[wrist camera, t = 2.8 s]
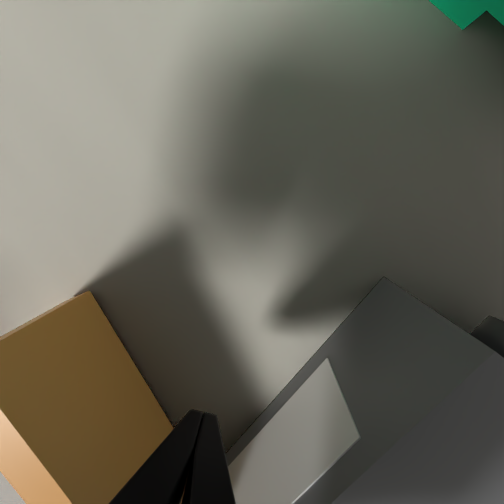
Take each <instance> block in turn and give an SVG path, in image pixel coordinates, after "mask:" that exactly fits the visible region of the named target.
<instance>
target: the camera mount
mask: <svg viewBox="0 0 504 504" xmlns="http://www.w3.org/2000/svg"><path fill="white" fill-rule="evenodd" d="M429 1H430V2H431V3H432V4H434V5H435V6H436V7H437V8H438V9H439V10H440V11H442V12H443V13H444V14H445V15H446V16H447V17H449V18H450V19H451V20H452V21H453V22H454V23H455V24H457V25H458V26H459V27H460V28H461V29H462V30H463V29H464V28H466V27H467V26H468V25H469V24H470V23H472V22H473V21H474V20H475V19H477V18H478V17H479V16H480V15H482V14H483V13H484V12H485V11H486V10H487V11H488V12H489V13H490V14H491V15H492V16H493V17H494V18H496V19H497V20H498V21H499V22H500V23H501V24H502V25H503V26H504V0H429Z"/></svg>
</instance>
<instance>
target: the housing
mask: <svg viewBox="0 0 504 504" xmlns="http://www.w3.org/2000/svg"><path fill="white" fill-rule="evenodd" d="M225 455H226V460H227V465H228V469H229V474H230V479H231V483H232V488H233V493H234V497H235V502H236V504H504V321H502V320H500V319H497V318H495V317H492V316H488V317H487V318H486V319H485V320H484V321H483V322H482V323H481V324H480V325H479V326H478V327H477V328H476V329H475V330H474V331H473V332H472V333H471V334H469V333H467V332H466V331H464V330H463V329H461V328H460V327H458V326H457V325H455V324H454V323H452V322H451V321H449V320H448V319H446V318H445V317H443V316H442V315H440V314H439V313H437V312H436V311H434V310H433V309H431V308H430V307H428V306H427V305H425V304H424V303H422V302H421V301H419V300H418V299H416V298H415V297H413V296H412V295H411V294H409V293H408V292H406V291H405V290H403V289H402V288H400V287H399V286H397V285H396V284H394V283H393V282H391V281H390V280H388V279H387V278H385V277H383V278H382V279H381V280H380V281H379V283H378V284H377V285H376V286H375V287H374V288H373V289H372V290H371V291H370V293H369V294H368V295H367V296H366V297H365V298H364V299H363V300H362V302H361V303H360V304H359V305H358V306H357V307H356V308H355V309H354V311H353V312H352V313H351V314H350V315H349V316H348V317H347V318H346V320H345V321H344V322H343V323H342V324H341V325H340V326H339V327H338V329H337V330H336V331H335V332H334V333H333V334H332V335H331V336H330V337H329V339H328V340H327V341H326V342H325V343H324V344H323V345H322V346H321V348H320V349H319V350H318V351H317V352H316V353H315V354H314V355H313V357H312V358H311V359H310V360H309V361H308V362H307V363H306V364H305V366H304V367H303V368H302V369H301V370H300V371H299V372H298V373H297V375H296V376H295V377H294V378H293V379H292V380H291V381H290V382H289V383H288V385H287V386H286V387H285V388H284V389H283V390H282V391H281V392H280V394H279V395H278V396H277V397H276V398H275V399H274V400H273V401H272V403H271V404H270V405H269V406H268V407H267V408H266V409H265V410H264V412H263V413H262V414H261V415H260V416H259V417H258V418H257V419H256V421H255V422H254V423H253V424H252V425H251V426H250V427H249V428H248V429H247V431H246V432H245V433H244V434H243V435H242V436H241V437H240V438H239V440H238V441H237V442H236V443H235V444H234V445H233V446H232V447H231V449H230V450H229V451H228V452H227V453H226V454H225Z"/></svg>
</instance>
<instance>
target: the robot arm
mask: <svg viewBox="0 0 504 504" xmlns="http://www.w3.org/2000/svg"><path fill="white" fill-rule="evenodd" d="M202 417H203V418H202ZM184 489H185V490H184ZM183 493H184V494H183ZM182 496H183V498H182ZM181 500H182V503H181ZM180 503H181V504H236V502H235V497H234V493H233V488H232V483H231V479H230V474H229V469H228V465H227V460H226V455H225V451H224V446H223V441H222V437H221V432H220V427H219V423H218V418H217V416H216V415H215V414H211V413H207V412H205V413H204V414H203V412H202V411H198V410H194V409H191V410H190V411H189V412H188V413H187V414H186V415H185V416H184V417H183V419H182V420H181V421H180V422H179V423H178V424H177V426H176V427H175V428H174V429H173V430H172V431H171V432H170V434H169V435H168V436H167V437H166V438H165V439H164V440H163V442H162V443H161V444H160V445H159V446H158V447H157V448H156V450H155V451H154V452H153V453H152V454H151V455H150V457H149V458H148V459H147V460H146V461H145V462H144V463H143V465H142V466H141V467H140V468H139V469H138V470H137V471H136V473H135V474H134V475H133V476H132V477H131V478H130V479H129V481H128V482H127V483H126V484H125V485H124V486H123V487H122V489H121V490H120V491H119V492H118V493H117V494H116V496H115V497H114V498H113V499H112V500H111V501H110V502H109V504H180Z"/></svg>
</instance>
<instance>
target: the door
mask: <svg viewBox="0 0 504 504" xmlns="http://www.w3.org/2000/svg"><path fill="white" fill-rule="evenodd" d="M173 429H174V428H173V426H172V425H171V423H170V421H169V420H168V418H167V417H166V415H165V413H164V412H163V410H162V408H161V407H160V405H159V403H158V402H157V400H156V398H155V397H154V395H153V394H152V392H151V390H150V389H149V387H148V385H147V384H146V382H145V380H144V379H143V377H142V375H141V374H140V372H139V371H138V369H137V367H136V366H135V364H134V362H133V361H132V359H131V357H130V356H129V354H128V353H127V351H126V349H125V348H124V346H123V344H122V343H121V341H120V339H119V338H118V336H117V334H116V333H115V331H114V330H113V328H112V326H111V325H110V323H109V321H108V320H107V318H106V316H105V315H104V313H103V312H102V310H101V308H100V307H99V305H98V303H97V302H96V300H95V298H94V297H93V295H92V293H91V292H90V290H89V291H87V292H85V293H82V294H80V295H78V296H76V297H74V298H71V299H69V300H67V301H65V302H63V303H61V304H59V305H57V306H56V307H54V308H52V309H50V310H48V311H47V312H45V313H43V314H41V315H39V316H37V317H36V318H34V319H32V320H30V321H28V322H27V323H25V324H23V325H21V326H19V327H17V328H16V329H14V330H12V331H10V332H8V333H7V334H5V335H3V336H1V337H0V472H1V473H2V474H3V475H4V477H5V478H6V479H7V480H8V482H9V483H10V484H11V485H12V487H13V488H14V489H15V490H16V491H17V493H18V494H19V495H20V496H21V498H22V499H23V500H24V501H25V503H26V504H109V502H110V501H111V500H112V499H113V498H114V497H115V496H116V494H117V493H118V492H119V491H120V490H121V489H122V487H123V486H124V485H125V484H126V483H127V482H128V481H129V479H130V478H131V477H132V476H133V475H134V474H135V473H136V471H137V470H138V469H139V468H140V467H141V466H142V465H143V463H144V462H145V461H146V460H147V459H148V458H149V457H150V455H151V454H152V453H153V452H154V451H155V450H156V448H157V447H158V446H159V445H160V444H161V443H162V442H163V440H164V439H165V438H166V437H167V436H168V435H169V434H170V432H171V431H172V430H173ZM184 490H185V489H184ZM183 494H184V493H183ZM182 498H183V496H182ZM181 503H182V500H181ZM181 503H180V504H181Z"/></svg>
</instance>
